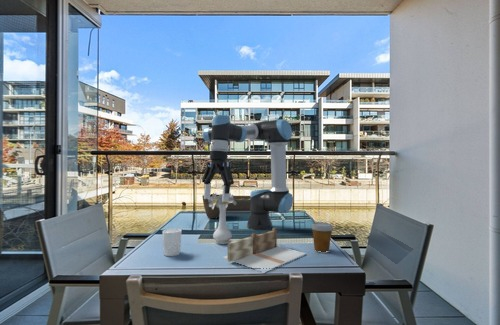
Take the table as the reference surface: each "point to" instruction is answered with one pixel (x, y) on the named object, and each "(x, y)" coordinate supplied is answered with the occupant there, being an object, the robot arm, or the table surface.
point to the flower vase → (221, 218)
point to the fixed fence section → (264, 241)
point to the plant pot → (210, 209)
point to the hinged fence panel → (240, 248)
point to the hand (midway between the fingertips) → (215, 200)
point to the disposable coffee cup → (322, 236)
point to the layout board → (269, 258)
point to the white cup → (171, 241)
